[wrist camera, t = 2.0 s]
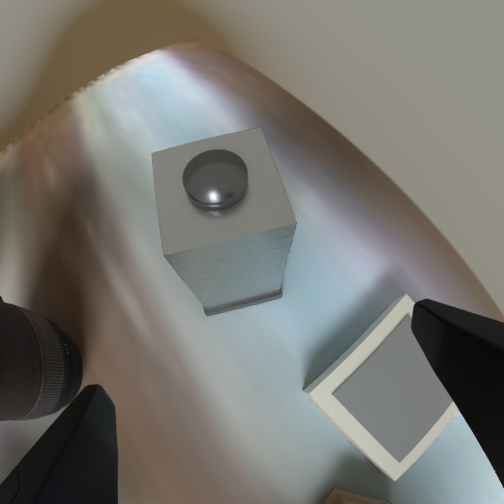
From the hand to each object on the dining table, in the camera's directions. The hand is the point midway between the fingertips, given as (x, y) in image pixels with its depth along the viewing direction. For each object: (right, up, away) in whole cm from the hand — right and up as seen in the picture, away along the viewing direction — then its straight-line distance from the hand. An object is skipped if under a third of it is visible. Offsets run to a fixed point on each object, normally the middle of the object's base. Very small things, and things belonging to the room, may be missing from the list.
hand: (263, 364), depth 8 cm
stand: (+9, -7, +11) cm, 16 cm away
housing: (-1, +1, +14) cm, 14 cm away
